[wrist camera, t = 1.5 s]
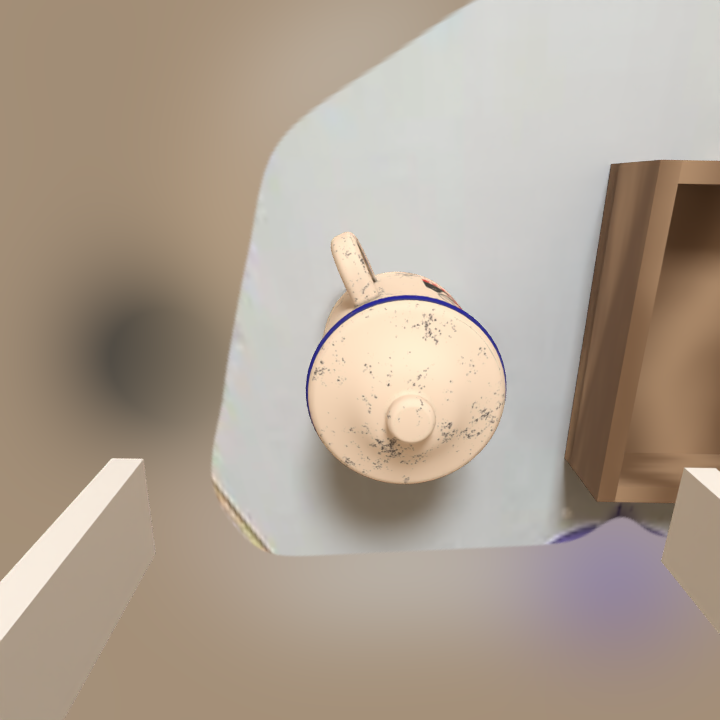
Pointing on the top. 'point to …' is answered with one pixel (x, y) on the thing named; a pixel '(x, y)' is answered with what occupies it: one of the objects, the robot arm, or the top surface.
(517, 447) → the top surface
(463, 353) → the teacup with lid
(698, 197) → the walnut box
